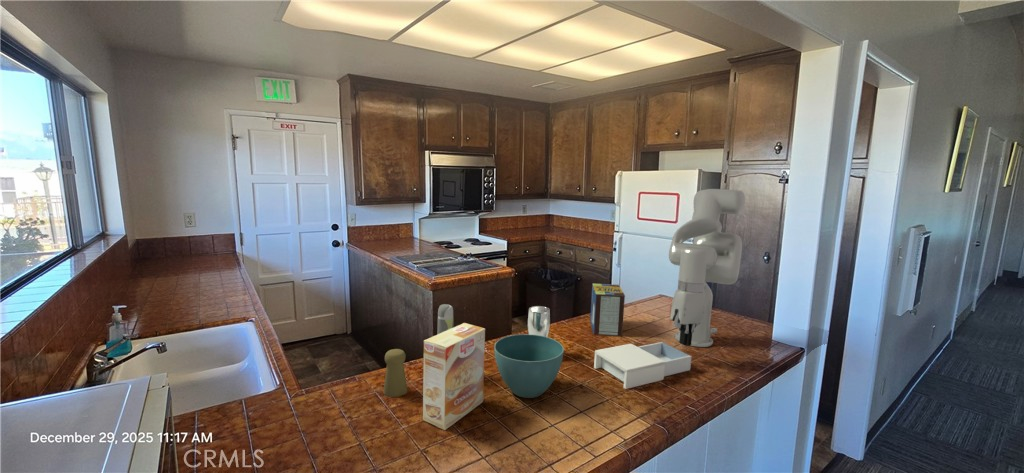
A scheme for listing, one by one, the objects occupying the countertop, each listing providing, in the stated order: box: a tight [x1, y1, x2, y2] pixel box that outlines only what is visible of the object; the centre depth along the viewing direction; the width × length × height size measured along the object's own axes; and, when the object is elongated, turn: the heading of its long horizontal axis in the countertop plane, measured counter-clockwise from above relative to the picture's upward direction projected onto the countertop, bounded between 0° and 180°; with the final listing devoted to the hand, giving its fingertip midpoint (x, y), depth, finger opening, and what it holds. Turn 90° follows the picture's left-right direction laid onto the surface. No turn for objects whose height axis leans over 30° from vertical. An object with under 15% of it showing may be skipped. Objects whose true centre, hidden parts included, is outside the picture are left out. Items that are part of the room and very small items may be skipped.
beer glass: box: [527, 305, 551, 337], centre depth 136 cm, size 7×7×15 cm
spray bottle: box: [436, 303, 455, 335], centre depth 121 cm, size 5×5×20 cm
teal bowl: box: [493, 333, 565, 399], centre depth 113 cm, size 18×18×12 cm
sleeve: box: [593, 343, 665, 390], centre depth 126 cm, size 14×14×6 cm
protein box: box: [589, 283, 626, 337], centre depth 162 cm, size 10×15×16 cm
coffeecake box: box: [422, 322, 486, 431], centre depth 102 cm, size 15×7×20 cm, turn 148°
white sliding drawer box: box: [601, 341, 692, 383], centre depth 129 cm, size 24×12×4 cm, turn 116°
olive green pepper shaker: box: [382, 348, 408, 398], centre depth 111 cm, size 6×6×11 cm
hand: (685, 344), depth 134 cm, fingers closed
